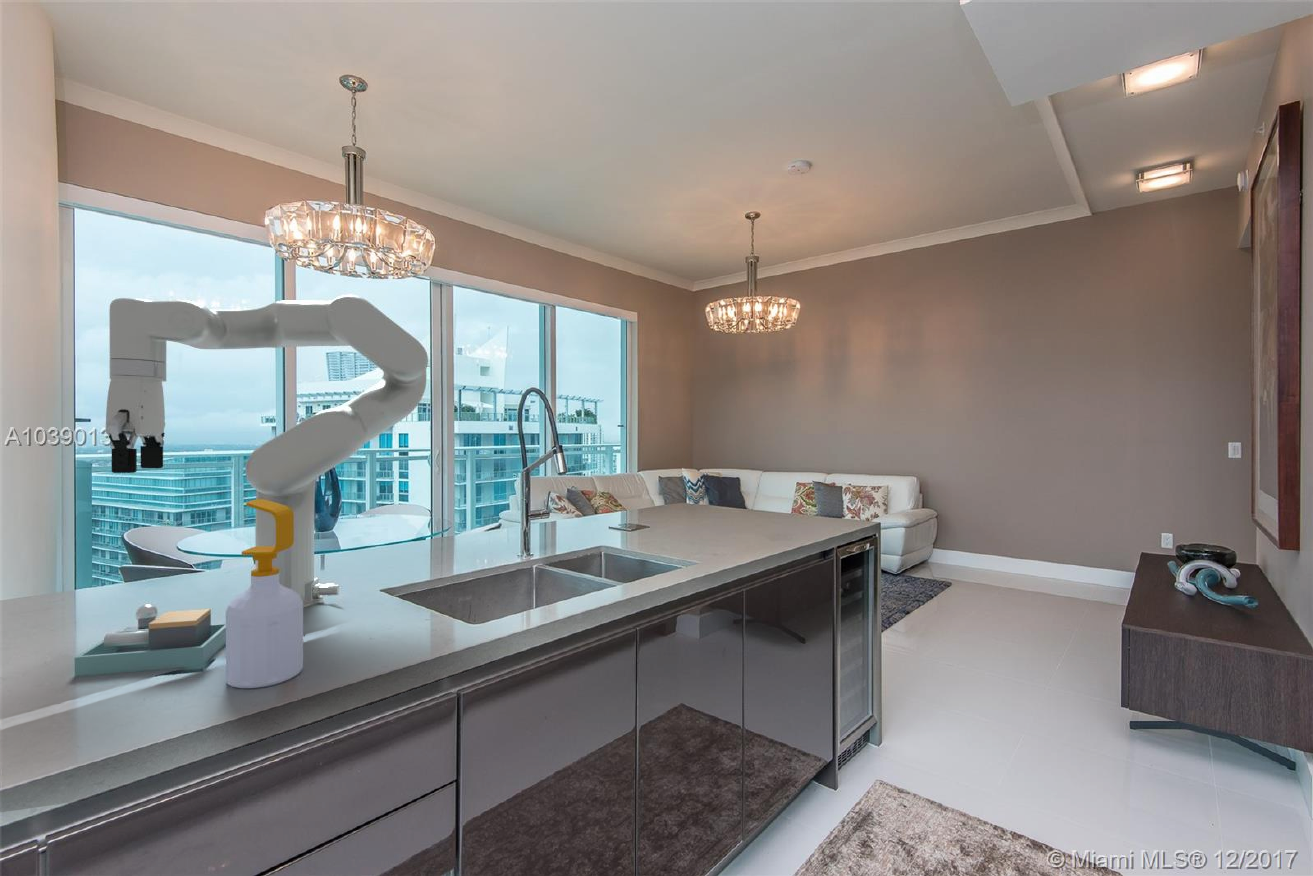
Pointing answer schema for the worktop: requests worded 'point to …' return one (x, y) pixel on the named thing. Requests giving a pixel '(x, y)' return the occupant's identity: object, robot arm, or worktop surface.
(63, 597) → the worktop surface
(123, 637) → the grey block with cylinder
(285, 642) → the soap bottle
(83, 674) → the bin
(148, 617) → the grey piece
